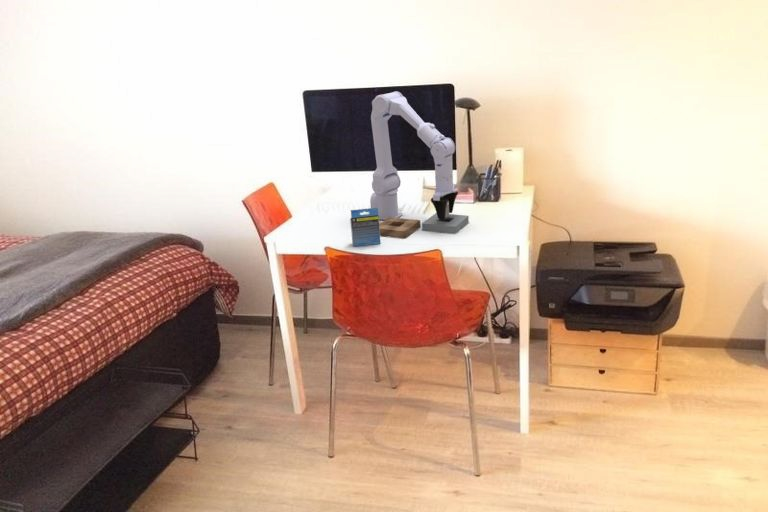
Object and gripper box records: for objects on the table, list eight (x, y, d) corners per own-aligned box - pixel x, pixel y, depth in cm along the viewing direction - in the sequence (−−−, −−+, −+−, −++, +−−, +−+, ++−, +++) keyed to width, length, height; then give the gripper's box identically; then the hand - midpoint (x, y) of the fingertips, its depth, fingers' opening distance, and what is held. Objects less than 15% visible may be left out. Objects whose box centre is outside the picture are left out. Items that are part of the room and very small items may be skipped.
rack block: (422, 230, 204) (421, 223, 203) (436, 219, 214) (436, 212, 213) (455, 233, 199) (455, 226, 198) (468, 222, 208) (468, 215, 208)
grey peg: (439, 227, 206) (438, 202, 202) (442, 224, 208) (441, 199, 205) (448, 228, 205) (447, 202, 201) (450, 225, 207) (449, 199, 204)
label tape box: (379, 240, 198) (376, 203, 194) (380, 244, 194) (378, 207, 190) (352, 243, 197) (348, 206, 193) (353, 247, 193) (350, 210, 189)
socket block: (373, 234, 203) (372, 227, 202) (389, 223, 213) (389, 217, 212) (405, 238, 198) (404, 231, 197) (420, 227, 208) (420, 220, 207)
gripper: (446, 182, 192) (448, 223, 197) (463, 171, 204) (464, 210, 209) (426, 181, 195) (428, 221, 200) (443, 170, 207) (445, 208, 212)
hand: (445, 215), depth 205 cm, fingers open, 6 cm apart
